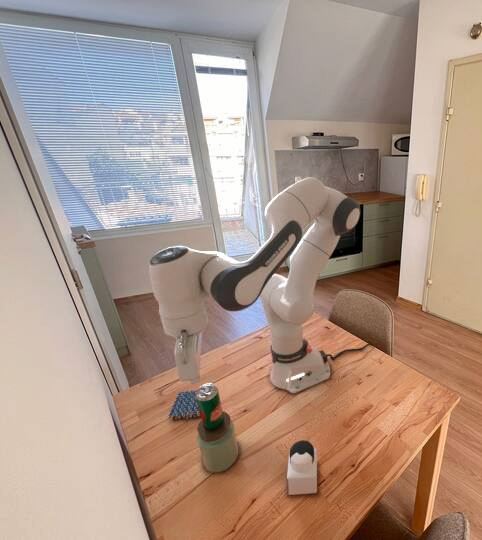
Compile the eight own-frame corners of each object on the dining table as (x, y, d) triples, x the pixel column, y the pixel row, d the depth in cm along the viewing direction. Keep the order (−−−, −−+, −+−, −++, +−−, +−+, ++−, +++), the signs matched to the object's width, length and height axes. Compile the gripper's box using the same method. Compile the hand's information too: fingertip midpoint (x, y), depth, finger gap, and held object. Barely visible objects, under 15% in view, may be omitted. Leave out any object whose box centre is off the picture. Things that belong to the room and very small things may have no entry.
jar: (237, 436, 87) (231, 405, 82) (239, 465, 80) (232, 433, 74) (204, 446, 84) (196, 414, 79) (203, 477, 77) (193, 444, 71)
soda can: (217, 434, 74) (209, 400, 69) (199, 430, 75) (190, 396, 70) (228, 417, 78) (221, 384, 73) (211, 413, 79) (203, 380, 74)
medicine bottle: (290, 466, 80) (288, 437, 75) (316, 464, 80) (316, 435, 75) (288, 495, 73) (285, 465, 68) (316, 493, 74) (316, 463, 69)
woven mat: (204, 417, 93) (203, 412, 92) (168, 421, 91) (167, 416, 90) (212, 391, 102) (211, 387, 101) (180, 394, 101) (179, 390, 100)
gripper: (198, 344, 57) (210, 395, 63) (202, 295, 74) (211, 339, 80) (161, 352, 55) (177, 404, 61) (174, 299, 72) (186, 344, 78)
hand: (197, 366), depth 71 cm, fingers open, 8 cm apart
